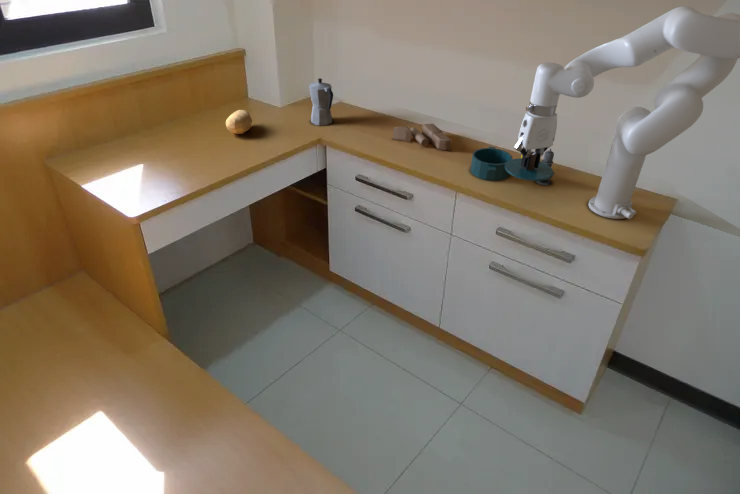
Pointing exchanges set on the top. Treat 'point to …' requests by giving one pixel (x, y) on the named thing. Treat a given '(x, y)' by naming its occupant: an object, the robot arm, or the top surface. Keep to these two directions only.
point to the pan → (490, 164)
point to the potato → (239, 122)
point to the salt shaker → (549, 161)
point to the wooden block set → (423, 136)
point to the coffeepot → (321, 103)
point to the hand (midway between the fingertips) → (529, 166)
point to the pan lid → (529, 169)
